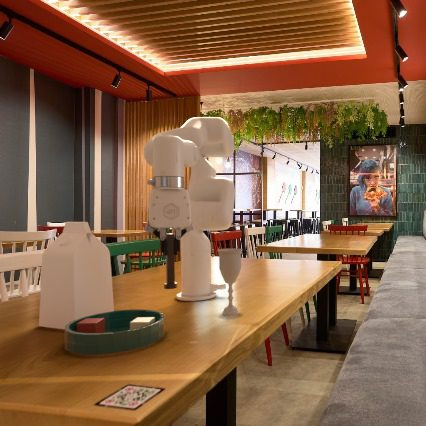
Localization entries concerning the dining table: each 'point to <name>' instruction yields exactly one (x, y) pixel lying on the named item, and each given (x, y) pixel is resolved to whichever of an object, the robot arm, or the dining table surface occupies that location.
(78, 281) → the milk
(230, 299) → the chalice
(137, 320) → the cream block
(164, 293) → the dining table surface
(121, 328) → the bowl
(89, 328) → the red block
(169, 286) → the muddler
